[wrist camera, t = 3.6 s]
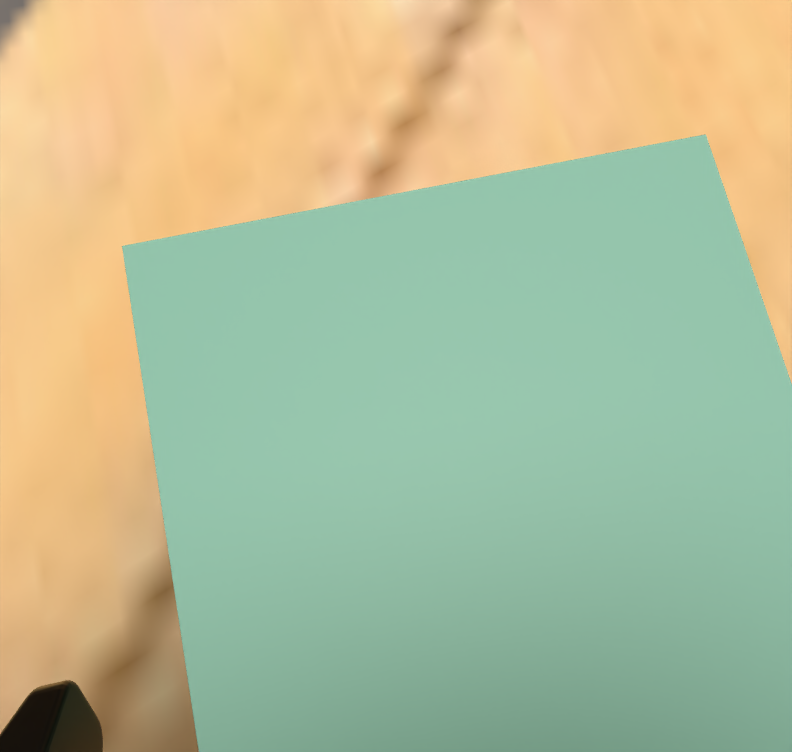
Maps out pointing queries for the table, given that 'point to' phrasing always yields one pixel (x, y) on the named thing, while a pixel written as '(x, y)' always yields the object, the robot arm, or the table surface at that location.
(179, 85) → the table surface
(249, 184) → the table surface
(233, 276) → the green block
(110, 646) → the table surface
